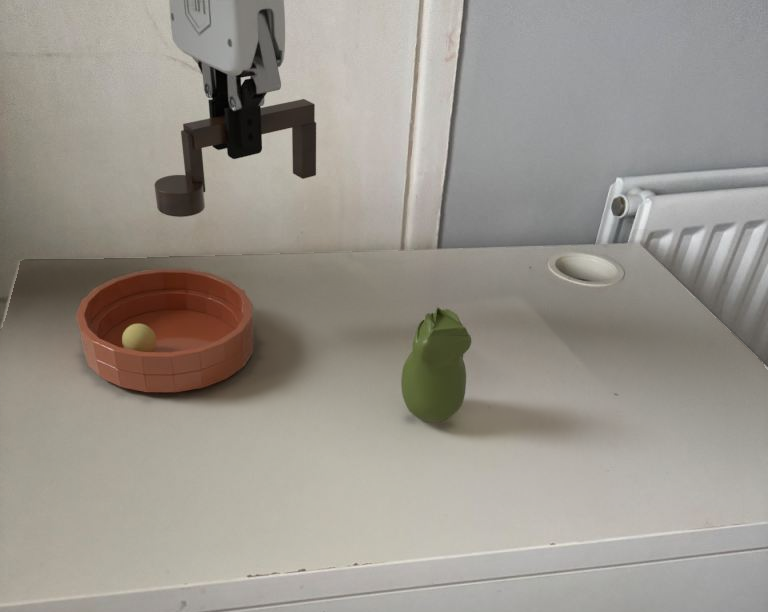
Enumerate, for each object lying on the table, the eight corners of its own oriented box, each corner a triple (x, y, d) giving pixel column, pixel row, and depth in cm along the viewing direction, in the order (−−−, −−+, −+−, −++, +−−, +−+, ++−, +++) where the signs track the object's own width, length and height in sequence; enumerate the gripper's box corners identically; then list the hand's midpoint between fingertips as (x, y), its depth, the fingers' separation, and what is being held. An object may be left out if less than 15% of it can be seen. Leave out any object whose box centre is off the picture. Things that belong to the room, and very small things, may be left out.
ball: (118, 352, 77) (113, 323, 74) (148, 342, 78) (143, 313, 76) (134, 367, 75) (130, 338, 73) (164, 356, 76) (160, 328, 74)
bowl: (56, 337, 78) (47, 297, 76) (198, 292, 86) (194, 254, 83) (137, 418, 70) (130, 377, 68) (286, 360, 78) (285, 320, 75)
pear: (447, 393, 76) (461, 294, 69) (471, 427, 73) (488, 327, 66) (390, 402, 74) (399, 302, 68) (412, 438, 71) (423, 336, 64)
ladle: (172, 221, 70) (163, 142, 65) (148, 204, 72) (138, 126, 67) (324, 179, 78) (324, 107, 73) (298, 165, 80) (297, 94, 75)
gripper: (120, -127, 62) (152, 130, 74) (238, -91, 54) (252, 191, 66) (207, -130, 66) (224, 115, 78) (330, -97, 57) (327, 172, 70)
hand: (237, 149), depth 72 cm, fingers closed on ladle
